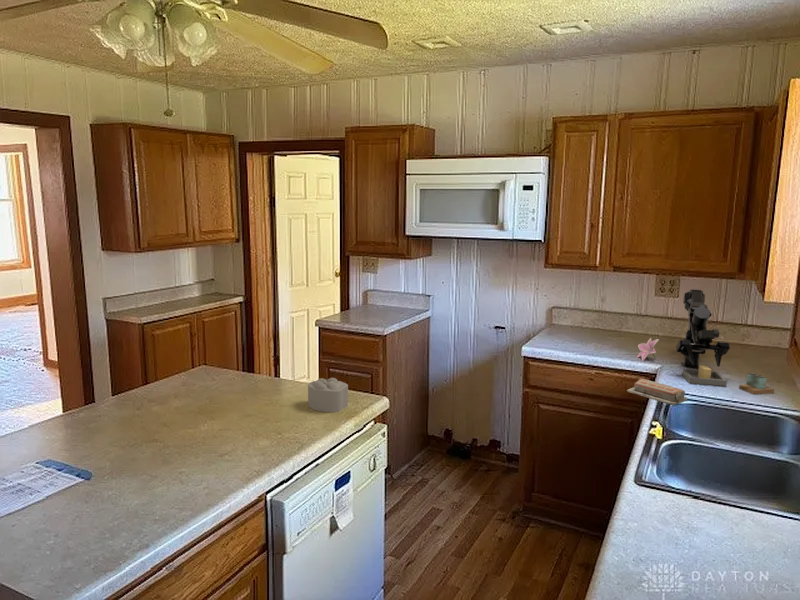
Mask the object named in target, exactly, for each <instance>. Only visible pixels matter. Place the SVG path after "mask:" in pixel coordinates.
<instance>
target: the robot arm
mask: <svg viewBox="0 0 800 600" xmlns="http://www.w3.org/2000/svg"><path fill="white" fill-rule="evenodd" d="M682 299H683V300H682V302H683V304H684V309H685V310H686V311H687V317H688V329H687V330H686V332H685V336H684V337H685V338H683V339H680V340H679V341H678V343H677V344H676V347H675V348H676V352H677V353H680V354H681V355H683V356H684V361H681V365H683V367H684V368H692V369H693V368H696V369H699V365H700V357H701V355H705V354H706V352H707V351H714V358H715V362H716V366H717V367H720V366H721V362H722V361H721V360H722V357H723V356H724V355H727V353H728V351H730V349H731V345H730V343H729V342H727V341H718V342H717V343H716V344H711V343H713V340H714V339H718V338H719V337H720V330H719V329H717V328H713V329H710V330H709V329H708V328H707V324H708V322H709V319H710V318H711V317H712V312H711V311H710V309H709V308H708V305H707V304H705V301H706V294H705V293H704V290H701V289H689V291H687V292H685V293H684V294H683V298H682ZM706 350H707V351H706Z"/></svg>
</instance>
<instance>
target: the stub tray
mask: <svg viewBox="0 0 800 600" xmlns="http://www.w3.org/2000/svg"><path fill="white" fill-rule="evenodd" d="M698 371H699V369H693V368H692V369H690V368H689V369H688V368H682V371H681V375H682V376H683V378H684V379H685V380H686V382H687V383H688V384H689V383H690V385H697V384H699V385H700V386H708V385H713V386H712V387H720V386H721V388H722V387H723V388H727V383H728V380H727V379H726V378H725V377H724V376H723V375H722V374H720V372H719V371H717V370H711V378H710V379H708V378H698Z"/></svg>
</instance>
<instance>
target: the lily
mask: <svg viewBox="0 0 800 600" xmlns="http://www.w3.org/2000/svg"><path fill="white" fill-rule="evenodd" d="M659 341H660V339H659V338H657V339H654V340H652V337H650V338H649V339H648V340H647V342H646V343H645V342H644V343H639V344H638V345H637V348H638V350H639V351H640V352H639V353H638V354H637V356H636V358H639V357H641V362H644V361H645V359H646V357H647V356H648V355H649V354H652V355H653V357H654V358H653V359H656V357H655V354H656V352H657V351H656V349H655V348H654V347H655V345H657V343H658V342H659Z"/></svg>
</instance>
